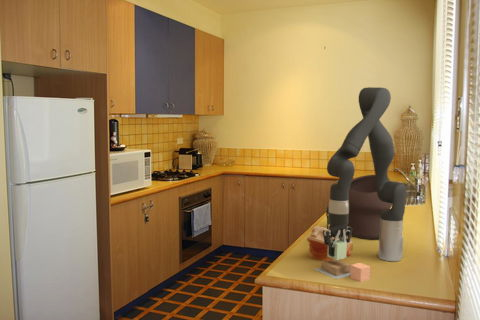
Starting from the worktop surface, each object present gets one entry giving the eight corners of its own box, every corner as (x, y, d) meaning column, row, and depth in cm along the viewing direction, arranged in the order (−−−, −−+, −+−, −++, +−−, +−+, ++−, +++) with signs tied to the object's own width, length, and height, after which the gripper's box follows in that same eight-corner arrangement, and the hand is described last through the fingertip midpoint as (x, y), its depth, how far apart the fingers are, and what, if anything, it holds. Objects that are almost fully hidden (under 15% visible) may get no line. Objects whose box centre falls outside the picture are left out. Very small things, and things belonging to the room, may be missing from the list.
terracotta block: (359, 278, 173) (359, 262, 173) (369, 282, 169) (370, 266, 168) (349, 280, 170) (350, 265, 170) (360, 285, 166) (361, 268, 166)
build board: (336, 266, 185) (336, 264, 185) (358, 276, 175) (359, 272, 175) (313, 272, 179) (314, 269, 178) (336, 282, 169) (336, 278, 168)
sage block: (346, 258, 175) (346, 242, 175) (336, 260, 173) (337, 244, 172) (336, 254, 180) (337, 239, 179) (327, 256, 177) (328, 241, 176)
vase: (340, 226, 252) (342, 172, 249) (392, 230, 244) (395, 175, 241) (335, 238, 227) (337, 178, 224) (392, 244, 219) (396, 182, 215)
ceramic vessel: (297, 260, 192) (298, 225, 191) (332, 248, 211) (333, 216, 209) (324, 269, 183) (325, 232, 181) (359, 255, 201) (360, 221, 199)
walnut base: (336, 266, 182) (336, 259, 182) (351, 272, 176) (351, 264, 175) (321, 269, 178) (321, 262, 178) (336, 276, 171) (336, 268, 171)
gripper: (332, 215, 167) (330, 260, 169) (359, 211, 175) (357, 254, 177) (317, 211, 173) (316, 255, 175) (344, 207, 181) (342, 249, 183)
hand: (336, 254), depth 176 cm, fingers closed on sage block, 5 cm apart
